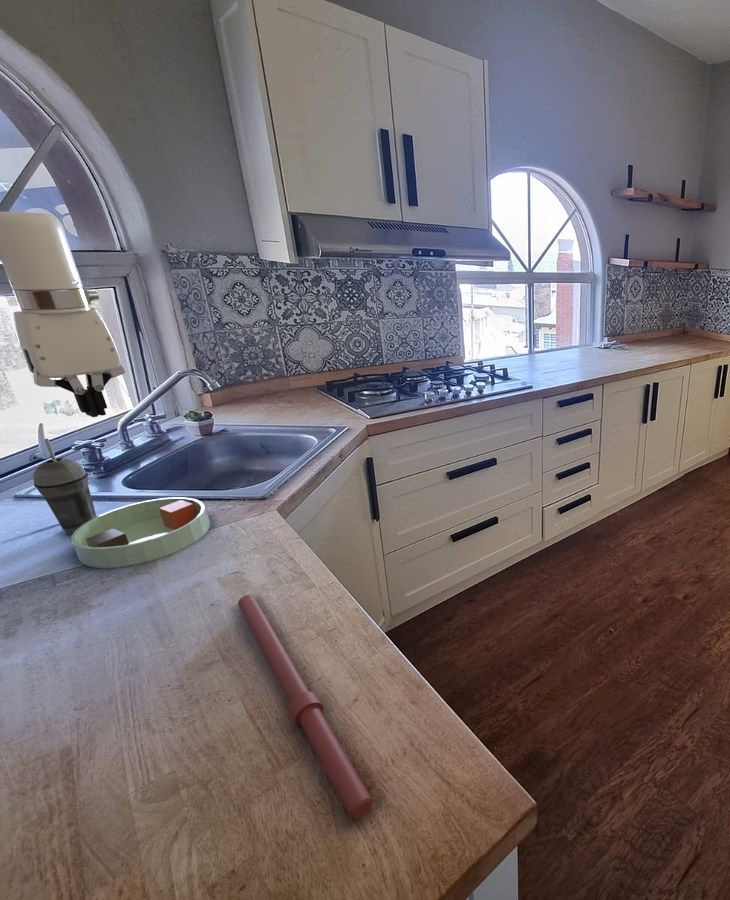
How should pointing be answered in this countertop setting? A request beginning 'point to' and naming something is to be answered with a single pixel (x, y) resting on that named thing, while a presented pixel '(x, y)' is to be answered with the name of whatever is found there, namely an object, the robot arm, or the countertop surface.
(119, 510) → the bowl
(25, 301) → the robot arm
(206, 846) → the countertop surface
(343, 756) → the rolling pin
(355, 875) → the countertop surface
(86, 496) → the beverage cup
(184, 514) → the terracotta block
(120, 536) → the walnut block
